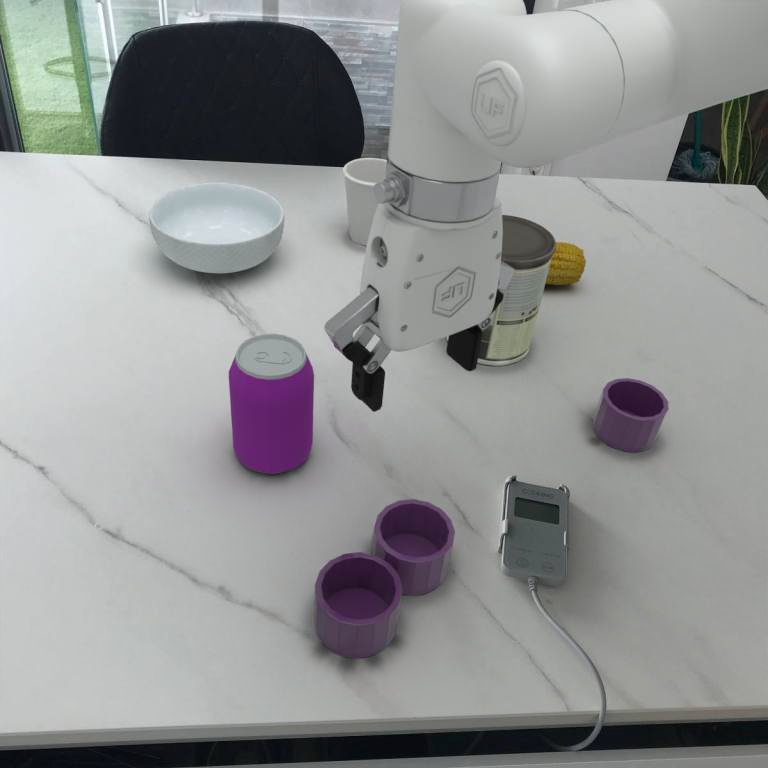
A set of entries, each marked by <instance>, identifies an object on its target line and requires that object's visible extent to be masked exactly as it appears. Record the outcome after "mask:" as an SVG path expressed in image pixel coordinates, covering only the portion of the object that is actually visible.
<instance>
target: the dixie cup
mask: <svg viewBox="0 0 768 768" xmlns="http://www.w3.org/2000/svg"><path fill="white" fill-rule="evenodd" d="M386 168H387V159H384V158H377V157H361V158H356V159H353V160H351V161H348V162H347V163H346V164H344V166H343V168H342V174H343V175H344V182H345V183H344V184H345V195H346V207H347V208H346V209H347V220H348V232H349V234H348V235H349V239H350V240H352V242H354V243H356V244H358V245H360V246H361V245H362V246H364V247H365V246H366V247H367V242H368V238H369V233H370V230H371V226H372V222H373V218H374V215H375V212H376V209H377V205H378V202H377V201H376V199H375V196H374V191H373V190H374V186H375V184H377V183H380V182H383V181H384V180H385V179H386Z"/></svg>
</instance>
